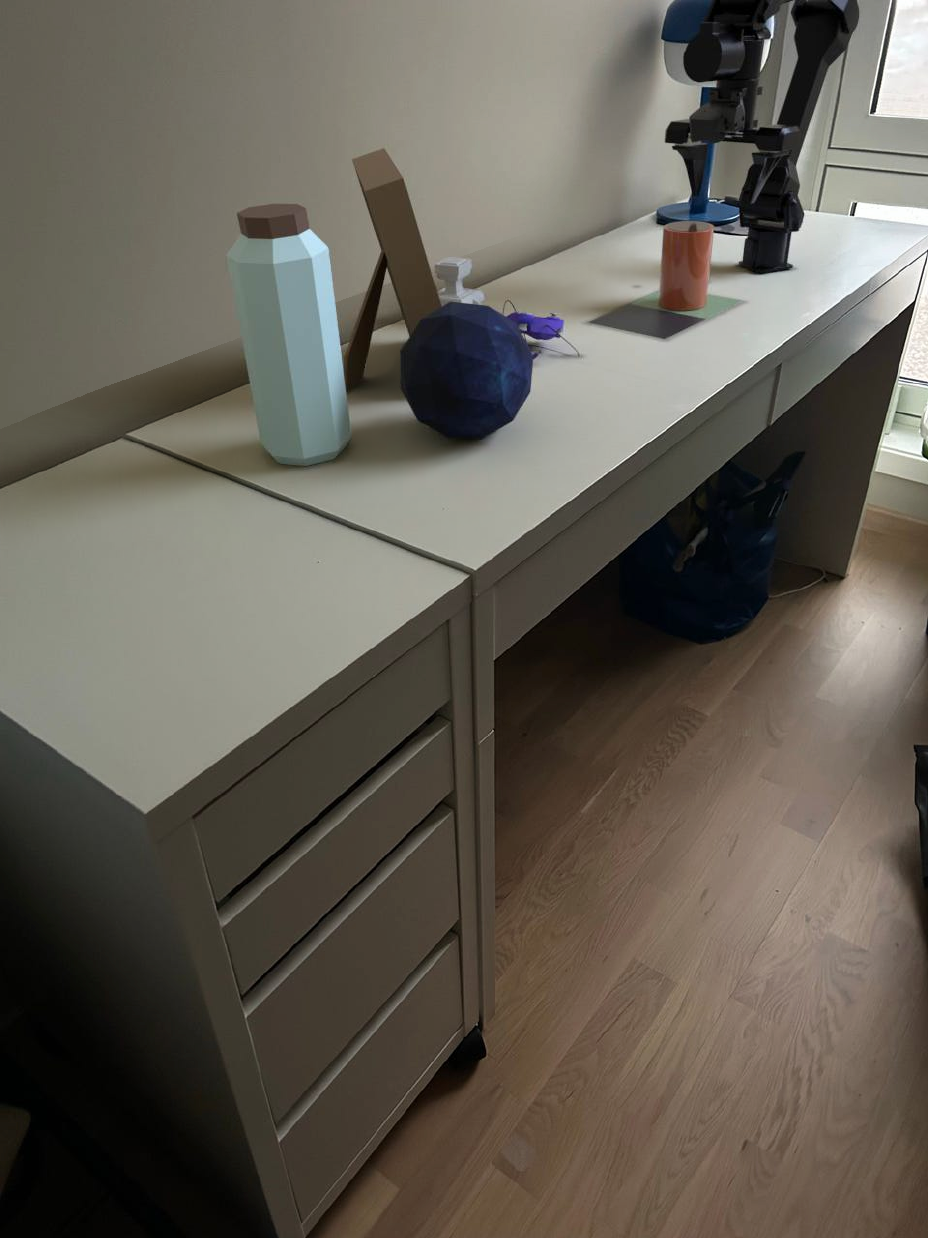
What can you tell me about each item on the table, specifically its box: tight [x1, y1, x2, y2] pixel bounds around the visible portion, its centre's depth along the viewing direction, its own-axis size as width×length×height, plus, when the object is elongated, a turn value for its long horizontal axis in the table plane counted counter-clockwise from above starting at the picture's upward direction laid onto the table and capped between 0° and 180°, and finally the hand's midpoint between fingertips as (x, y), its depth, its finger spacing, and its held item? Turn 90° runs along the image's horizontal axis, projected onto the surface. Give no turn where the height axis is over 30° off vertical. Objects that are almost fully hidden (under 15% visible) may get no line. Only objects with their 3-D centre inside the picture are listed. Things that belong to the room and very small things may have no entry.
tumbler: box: [658, 220, 715, 311], centre depth 138 cm, size 7×7×11 cm
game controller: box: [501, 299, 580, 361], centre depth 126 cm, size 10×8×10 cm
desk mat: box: [588, 291, 743, 340], centre depth 139 cm, size 21×13×1 cm, turn 137°
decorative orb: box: [399, 302, 534, 441], centre depth 103 cm, size 14×15×15 cm
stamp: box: [434, 256, 486, 306], centre depth 139 cm, size 9×7×8 cm
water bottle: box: [226, 203, 352, 467], centre depth 98 cm, size 10×10×25 cm
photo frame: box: [343, 147, 442, 391], centre depth 118 cm, size 15×22×25 cm
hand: (722, 200), depth 139 cm, fingers open, 9 cm apart
